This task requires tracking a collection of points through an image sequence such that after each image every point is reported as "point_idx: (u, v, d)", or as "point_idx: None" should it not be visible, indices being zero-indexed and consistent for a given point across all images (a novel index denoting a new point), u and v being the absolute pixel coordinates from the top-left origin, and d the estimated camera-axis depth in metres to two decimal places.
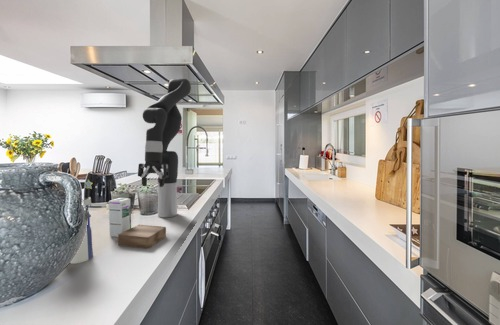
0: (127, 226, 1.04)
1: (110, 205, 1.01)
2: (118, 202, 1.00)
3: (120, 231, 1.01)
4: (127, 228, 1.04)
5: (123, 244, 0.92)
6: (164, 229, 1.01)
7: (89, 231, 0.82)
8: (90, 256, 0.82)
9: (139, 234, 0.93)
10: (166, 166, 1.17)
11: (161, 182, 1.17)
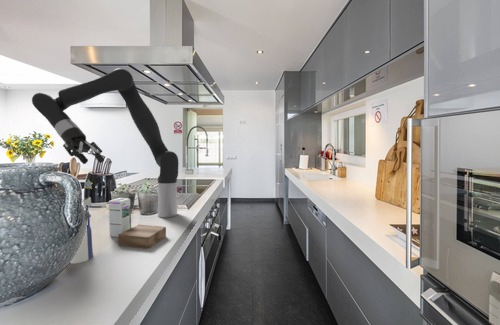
0: (127, 226, 1.04)
1: (110, 205, 1.01)
2: (118, 202, 1.00)
3: (120, 231, 1.01)
4: (127, 228, 1.04)
5: (123, 244, 0.92)
6: (164, 229, 1.01)
7: (89, 231, 0.82)
8: (90, 256, 0.82)
9: (139, 234, 0.93)
10: (64, 145, 0.98)
11: None
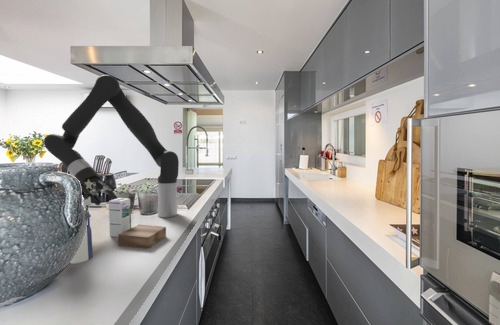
0: (127, 226, 1.04)
1: (110, 205, 1.01)
2: (118, 202, 1.00)
3: (120, 231, 1.01)
4: (127, 228, 1.04)
5: (123, 244, 0.92)
6: (164, 229, 1.01)
7: (89, 231, 0.82)
8: (90, 256, 0.82)
9: (139, 234, 0.93)
10: None
11: None
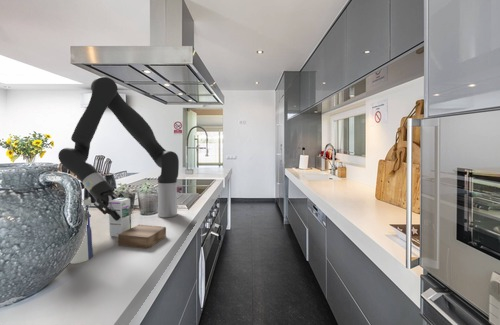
0: (127, 226, 1.04)
1: None
2: (118, 202, 1.00)
3: (120, 231, 1.01)
4: (127, 228, 1.04)
5: (123, 244, 0.92)
6: (164, 229, 1.01)
7: (89, 231, 0.82)
8: (90, 256, 0.82)
9: (139, 234, 0.93)
10: (96, 204, 0.98)
11: None
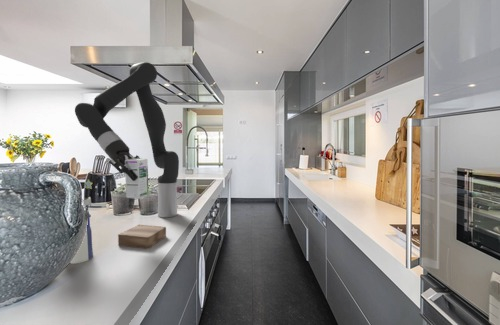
0: (144, 188, 0.97)
1: None
2: (135, 161, 0.93)
3: (137, 192, 0.94)
4: (144, 190, 0.97)
5: (123, 244, 0.92)
6: (164, 229, 1.01)
7: (89, 231, 0.82)
8: (90, 256, 0.82)
9: (139, 234, 0.93)
10: (112, 162, 0.91)
11: None
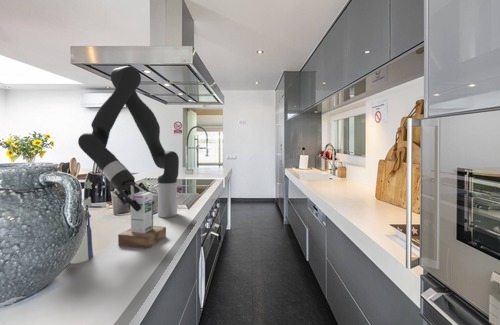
0: (149, 222, 0.97)
1: None
2: (141, 196, 0.93)
3: (142, 227, 0.94)
4: (149, 224, 0.97)
5: (123, 244, 0.92)
6: (164, 229, 1.01)
7: (89, 231, 0.82)
8: (90, 256, 0.82)
9: (139, 234, 0.93)
10: (116, 192, 0.91)
11: None
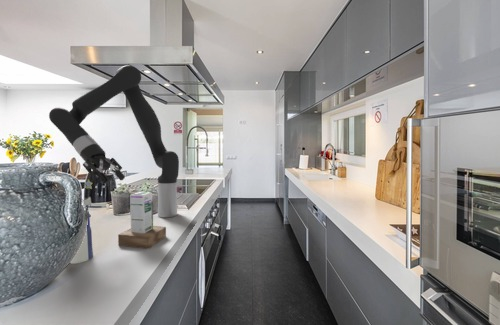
0: (149, 222, 0.97)
1: (132, 199, 0.94)
2: (140, 196, 0.93)
3: (142, 227, 0.94)
4: (149, 224, 0.97)
5: (123, 244, 0.92)
6: (164, 229, 1.01)
7: (89, 231, 0.82)
8: (90, 256, 0.82)
9: (139, 234, 0.93)
10: (84, 164, 0.93)
11: None
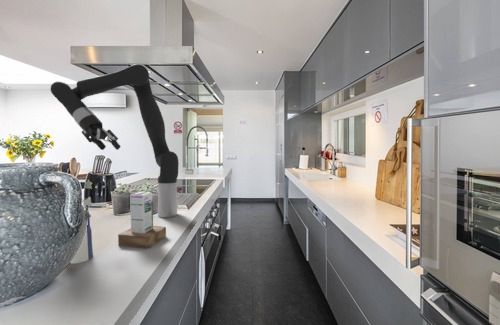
0: (149, 222, 0.97)
1: (132, 199, 0.94)
2: (140, 196, 0.93)
3: (142, 227, 0.94)
4: (149, 224, 0.97)
5: (123, 244, 0.92)
6: (164, 229, 1.01)
7: (89, 231, 0.82)
8: (90, 256, 0.82)
9: (139, 234, 0.93)
10: (83, 131, 1.01)
11: None
